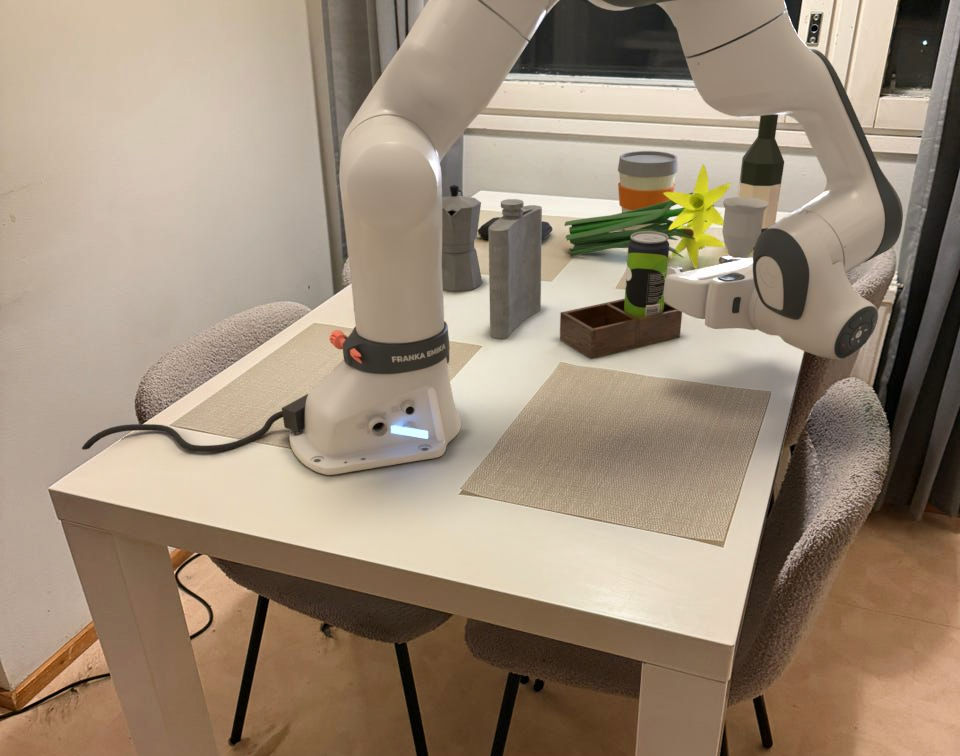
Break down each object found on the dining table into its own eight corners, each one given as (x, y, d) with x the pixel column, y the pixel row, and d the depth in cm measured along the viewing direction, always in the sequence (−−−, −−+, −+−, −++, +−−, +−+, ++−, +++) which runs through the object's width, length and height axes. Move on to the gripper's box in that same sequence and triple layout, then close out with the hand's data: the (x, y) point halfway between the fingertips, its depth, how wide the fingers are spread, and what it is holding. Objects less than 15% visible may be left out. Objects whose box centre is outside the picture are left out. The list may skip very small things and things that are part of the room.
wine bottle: (777, 241, 187) (801, 85, 171) (765, 251, 181) (788, 90, 165) (738, 235, 191) (758, 82, 175) (725, 245, 185) (744, 88, 169)
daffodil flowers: (593, 241, 192) (757, 215, 173) (577, 294, 186) (746, 273, 167) (561, 182, 180) (734, 147, 161) (543, 237, 174) (720, 207, 155)
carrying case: (556, 233, 195) (494, 227, 200) (557, 219, 194) (493, 213, 199) (539, 246, 187) (475, 240, 192) (540, 232, 185) (474, 226, 190)
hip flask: (504, 340, 144) (503, 214, 134) (482, 336, 146) (479, 212, 135) (543, 307, 156) (545, 190, 146) (522, 304, 158) (522, 188, 148)
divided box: (590, 359, 137) (591, 330, 135) (559, 339, 144) (560, 312, 142) (679, 337, 144) (682, 309, 141) (646, 319, 151) (648, 293, 148)
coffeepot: (480, 296, 162) (478, 194, 153) (428, 295, 163) (423, 194, 153) (485, 269, 175) (483, 173, 166) (437, 268, 176) (433, 174, 167)
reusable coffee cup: (614, 219, 203) (618, 150, 195) (671, 220, 202) (677, 150, 194) (614, 235, 193) (618, 163, 185) (673, 236, 191) (680, 163, 183)
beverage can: (665, 324, 147) (673, 232, 139) (657, 338, 142) (665, 243, 134) (627, 319, 149) (633, 229, 141) (618, 333, 144) (624, 240, 136)
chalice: (760, 308, 154) (776, 201, 145) (740, 319, 150) (755, 210, 140) (722, 299, 158) (735, 194, 149) (702, 309, 154) (714, 203, 145)
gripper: (826, 259, 121) (755, 234, 131) (707, 284, 113) (641, 255, 123) (818, 303, 124) (749, 275, 135) (702, 331, 116) (638, 299, 127)
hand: (696, 266), depth 129 cm, fingers open, 8 cm apart
